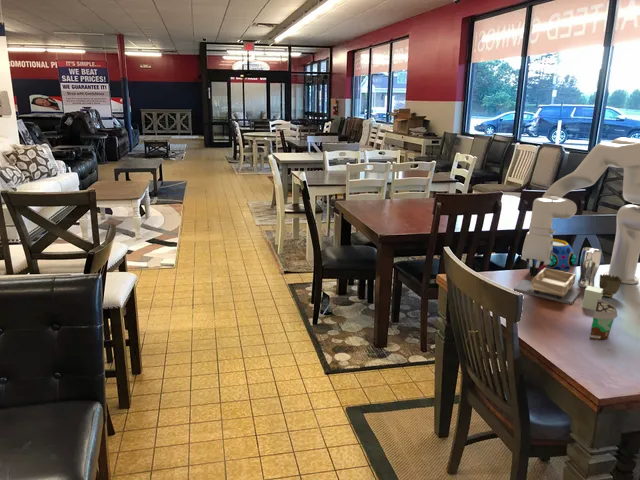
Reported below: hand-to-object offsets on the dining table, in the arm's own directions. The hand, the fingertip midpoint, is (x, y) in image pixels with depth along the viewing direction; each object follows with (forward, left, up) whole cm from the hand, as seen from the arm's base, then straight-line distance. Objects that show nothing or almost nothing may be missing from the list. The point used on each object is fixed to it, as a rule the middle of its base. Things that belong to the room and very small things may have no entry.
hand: (533, 275), depth 199 cm
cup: (-11, +25, -6) cm, 28 cm away
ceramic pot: (-21, +1, -6) cm, 22 cm away
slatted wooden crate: (0, +7, -4) cm, 9 cm away
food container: (+28, +29, -6) cm, 41 cm away
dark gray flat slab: (0, +6, -6) cm, 8 cm away
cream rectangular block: (+4, +22, -6) cm, 23 cm away
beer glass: (-19, +16, -6) cm, 25 cm away
